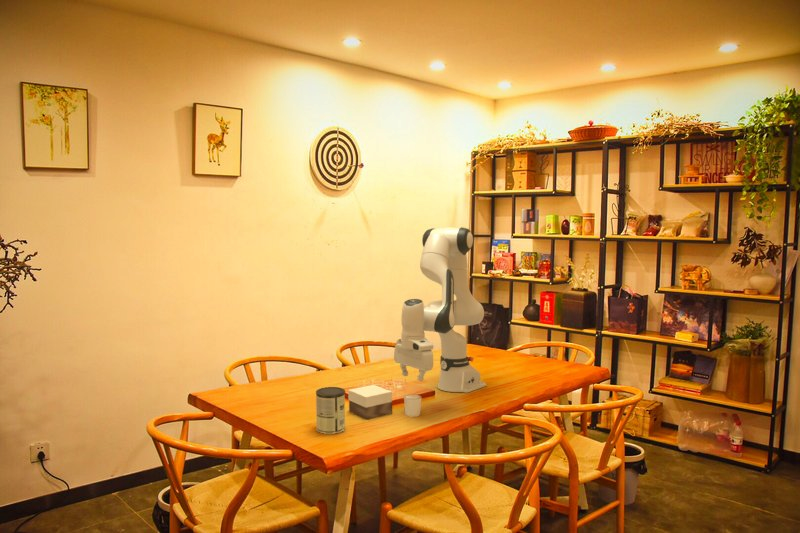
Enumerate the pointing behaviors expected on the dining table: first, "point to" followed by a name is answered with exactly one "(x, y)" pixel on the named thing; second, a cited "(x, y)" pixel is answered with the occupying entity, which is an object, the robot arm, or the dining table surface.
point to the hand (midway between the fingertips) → (412, 378)
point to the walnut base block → (370, 410)
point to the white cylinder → (412, 405)
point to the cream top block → (369, 396)
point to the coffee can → (330, 410)
